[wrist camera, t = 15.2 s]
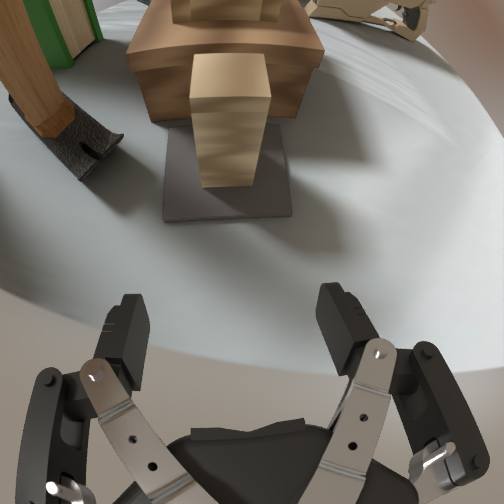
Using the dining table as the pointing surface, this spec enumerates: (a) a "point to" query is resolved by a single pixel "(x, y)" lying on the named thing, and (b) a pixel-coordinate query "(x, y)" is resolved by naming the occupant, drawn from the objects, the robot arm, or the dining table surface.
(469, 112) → the dining table surface
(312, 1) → the gun
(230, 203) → the rubber mat
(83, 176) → the hammer
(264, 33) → the stacked wooden tiers
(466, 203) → the dining table surface
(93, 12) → the hardback book
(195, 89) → the wooden block
